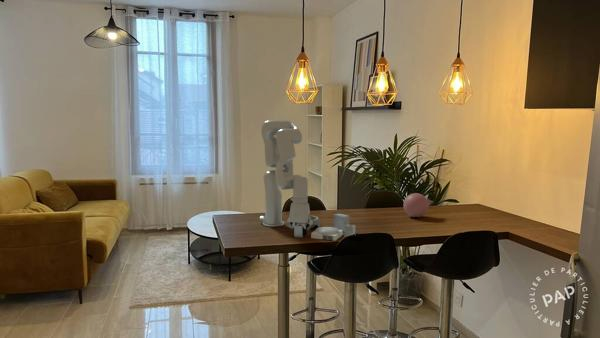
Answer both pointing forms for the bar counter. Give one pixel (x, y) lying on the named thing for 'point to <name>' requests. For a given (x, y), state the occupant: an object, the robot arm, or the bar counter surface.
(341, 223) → the medicine box
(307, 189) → the robot arm
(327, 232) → the scale
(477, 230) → the bar counter surface
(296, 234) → the grey block with knob
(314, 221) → the dog bowl
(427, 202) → the piggy bank
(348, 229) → the spacer
